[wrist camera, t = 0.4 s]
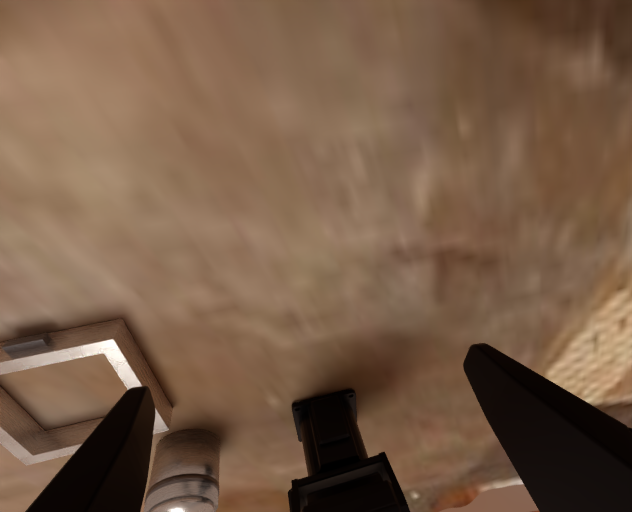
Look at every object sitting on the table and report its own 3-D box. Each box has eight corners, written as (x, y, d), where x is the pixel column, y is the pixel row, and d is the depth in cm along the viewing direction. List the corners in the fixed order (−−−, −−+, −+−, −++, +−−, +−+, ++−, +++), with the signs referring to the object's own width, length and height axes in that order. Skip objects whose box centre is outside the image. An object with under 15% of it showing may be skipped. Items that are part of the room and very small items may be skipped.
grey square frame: (172, 408, 29) (169, 430, 27) (38, 440, 28) (26, 465, 26) (118, 312, 23) (109, 332, 21) (-60, 347, 21) (-85, 372, 20)
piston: (226, 454, 35) (225, 521, 30) (167, 469, 34) (156, 541, 29) (211, 422, 31) (207, 492, 26) (145, 438, 30) (128, 514, 25)
